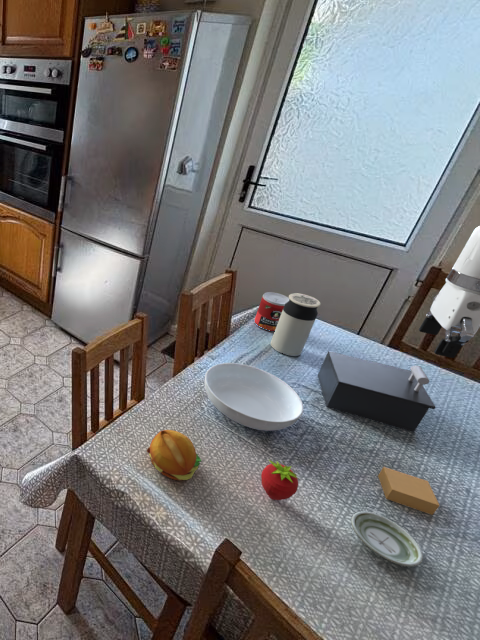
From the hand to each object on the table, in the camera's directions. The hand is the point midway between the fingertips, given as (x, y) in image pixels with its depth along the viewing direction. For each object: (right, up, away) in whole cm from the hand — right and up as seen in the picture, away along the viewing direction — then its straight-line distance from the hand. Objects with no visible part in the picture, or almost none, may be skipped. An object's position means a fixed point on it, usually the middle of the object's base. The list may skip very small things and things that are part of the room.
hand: (435, 343), depth 97 cm
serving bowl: (-39, -19, +10) cm, 44 cm away
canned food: (-9, -3, +43) cm, 44 cm away
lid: (-6, -11, +8) cm, 15 cm away
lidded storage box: (-7, -18, +11) cm, 22 cm away
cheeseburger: (-65, -27, -5) cm, 71 cm away
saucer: (-33, -33, -20) cm, 51 cm away
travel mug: (-11, -8, +32) cm, 35 cm away
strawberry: (-48, -30, -12) cm, 57 cm away
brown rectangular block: (-20, -29, -12) cm, 37 cm away
